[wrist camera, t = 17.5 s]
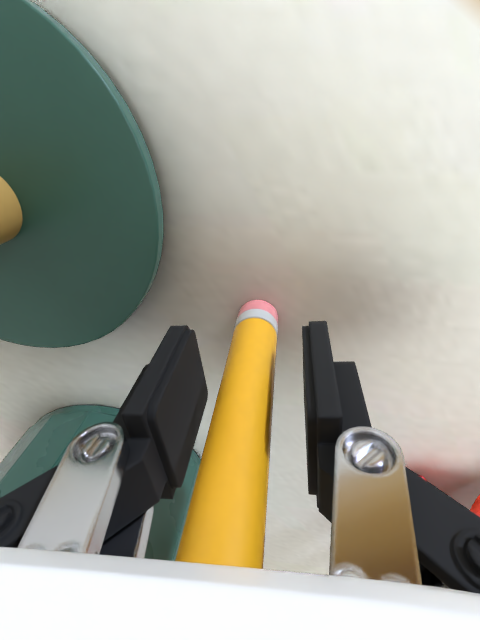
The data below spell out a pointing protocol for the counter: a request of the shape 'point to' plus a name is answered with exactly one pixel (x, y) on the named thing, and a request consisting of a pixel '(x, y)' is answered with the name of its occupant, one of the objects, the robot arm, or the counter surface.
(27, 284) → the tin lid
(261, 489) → the pencil
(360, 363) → the counter surface
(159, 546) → the tin
